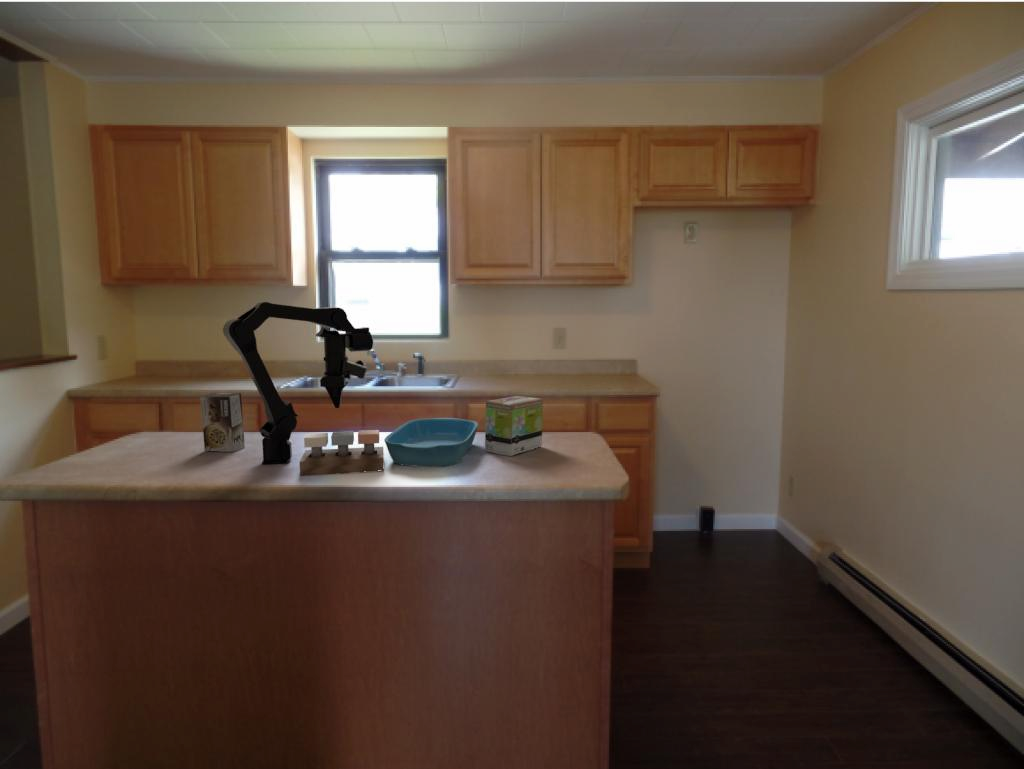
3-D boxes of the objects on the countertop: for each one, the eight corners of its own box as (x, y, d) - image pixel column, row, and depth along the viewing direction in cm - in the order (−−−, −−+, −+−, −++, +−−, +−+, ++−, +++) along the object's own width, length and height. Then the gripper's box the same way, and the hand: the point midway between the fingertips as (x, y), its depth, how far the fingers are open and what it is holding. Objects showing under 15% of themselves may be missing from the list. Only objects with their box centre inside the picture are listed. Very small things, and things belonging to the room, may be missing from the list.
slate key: (332, 459, 154) (331, 436, 154) (333, 454, 160) (332, 432, 159) (353, 458, 156) (352, 435, 155) (354, 453, 161) (353, 431, 160)
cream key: (305, 461, 153) (304, 438, 152) (307, 456, 158) (306, 433, 157) (326, 460, 154) (325, 437, 153) (328, 455, 159) (327, 432, 158)
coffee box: (245, 447, 180) (242, 392, 178) (233, 452, 173) (230, 396, 171) (216, 446, 181) (212, 392, 179) (203, 451, 174) (199, 395, 172)
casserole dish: (461, 473, 153) (461, 445, 152) (374, 470, 156) (374, 443, 155) (483, 440, 190) (483, 417, 189) (412, 438, 192) (412, 416, 191)
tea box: (512, 457, 168) (512, 404, 166) (484, 452, 174) (483, 400, 172) (543, 447, 180) (543, 397, 178) (516, 442, 186) (516, 394, 184)
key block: (300, 475, 150) (299, 461, 150) (306, 463, 162) (305, 450, 161) (383, 471, 154) (383, 457, 154) (383, 459, 166) (383, 446, 165)
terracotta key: (358, 457, 156) (357, 434, 155) (359, 452, 161) (358, 430, 160) (379, 456, 157) (378, 433, 156) (379, 451, 162) (379, 429, 161)
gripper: (362, 355, 163) (364, 412, 165) (367, 349, 181) (369, 401, 183) (318, 355, 161) (321, 414, 163) (328, 350, 179) (330, 402, 181)
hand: (337, 407), depth 173 cm, fingers closed
